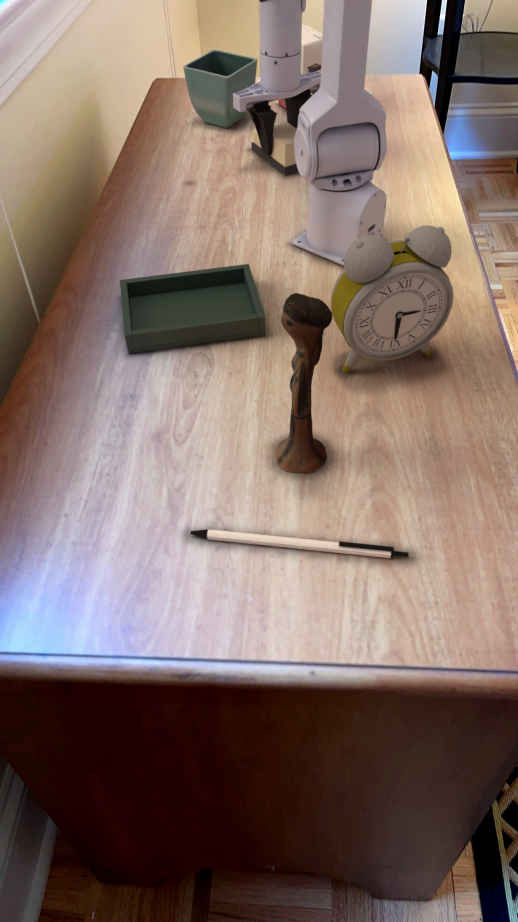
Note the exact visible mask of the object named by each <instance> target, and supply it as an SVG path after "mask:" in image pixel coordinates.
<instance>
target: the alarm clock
mask: <svg viewBox="0 0 518 922" xmlns="http://www.w3.org/2000/svg"><path fill="white" fill-rule="evenodd" d="M383 238H384V237H383ZM383 238H381V237H378V236H374V235H367V236H363V237H360V238H358V239H357V240H355V241H354V242H353V243H352V244H351V245H350V246H349V248H348V250H347V252H346V254H345V257H344V266H343V270H342V271H341V272H340V274H339V275H338V277H337V278H336V280H335V282H334V285H333V288H332V290H331V291H332V292H331V295H330V296H331V297H330V310H331V312H332V319H333V321H334V322H335V324H336V326H337V328H338V330H339V331H340V333H341V335H342V336H343V338H344V340H345V342H346V343H347V345H348V347H349V348H350V349H349V352H348V354H347V357H346V359H345V361H344V363H343V366H342V371H343V372H344V373H349V372H350V371H351V370H352V368H353V367H354V366H355V365H357V363H358V362H359V361H360V360H361V359H362V358H364V359H367V360H371V361H376V362H377V361H381V362H385V361H392V360H397V359H398V360H399V359H400V358H404V357H407V356H409V355H411V354H413V353H415V352H417V351H418V350H419V351H420V352H421V353H422V354H423V355H424V356H426V357H428V356H430V355H431V354H432V353H431V348H430V346H429V343H430V342H431V341H432V340H433V339H434V338H435V337H436V336H437V335H438V334H439V332H440V331H441V330H442V328H443V327H444V326H445V325H446V322H447V321H448V319H449V316H450V314H451V311H452V307H453V303H454V289H453V285H452V282H451V279H450V278H449V275H448V274H447V273H446V272H445V271H444V268H447V266H448V264H449V262H450V261H451V259H452V253H453V249H452V243H451V239H450V238H449V236H448V234H447V233H446V231H445V228H444V227H443V226H438V227H437V226H435V225H430V224H429V225H426V224H425V225H422V226H417V227H415V228H414V229H412V230H410V231H408V232H407V234H406V235H405V237H404V240H402V239H398V240H388V241H387V240H386V239H385V238H384V239H383Z"/></svg>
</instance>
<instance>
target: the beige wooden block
mask: <svg viewBox="0 0 518 922" xmlns="http://www.w3.org/2000/svg"><path fill="white" fill-rule="evenodd" d="M296 131H297V128H295V127H294V126H292V125H291V124H289V123H288V122H287V121H283V122H279V123H274V129H273V150H272V155H267V154H265V153H264V152H263V151H262V150H261V145H260V141H259V137H258V134H257V131H256V128H253V129H252V142H251V144H250V146H251V147H250V148H251V151H252V152H254V153H255V154H256V155H257V156H258V157H260V158H261V159H262V160H263V161H265V162H266V163H267V164H269V165H270V166H272V167H273V168H274V169H275V170H277V171H278V172H279V173H280V174H282V175H283V176H284V177H286V176H289V175H292V174H295V173H299V171H298V168H297V165H296V160H295V152H294V139H295V134H296Z"/></svg>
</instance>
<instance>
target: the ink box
mask: <svg viewBox="0 0 518 922" xmlns="http://www.w3.org/2000/svg"><path fill="white" fill-rule="evenodd" d="M322 38H323V32H321V31H319V30H318V29H315V28H313V27H311V25H308V24H306V23H302V39H301V74H304V73H312V72H317V71H320V72H321V61H322ZM317 91H318V89H316V90H313V91H311V95H312V96H313V95H314V94H315V93H316V92H317ZM277 102H278V105H279V106H281V107H282V108H283V109H285V110H286V104H285V98H284V99H279V100H277Z"/></svg>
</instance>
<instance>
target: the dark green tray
mask: <svg viewBox="0 0 518 922" xmlns="http://www.w3.org/2000/svg"><path fill="white" fill-rule="evenodd" d="M119 288H120V300H121V310H122V311H121V312H122V321H123V332H124V339H125V343H126V348H127V353H128V354H130V355H131V354H137V353H144V352H152V351H158V350H167V349H173V348H174V349H175V348H180V347H181V348H182V347H188V346H196V345H203V344H209V343H217V342H224V341H233V340H240V339H248V338H255V337H260V336H266V315H265V312H264V309H263V305H262V302H261V298H260V295H259V292H258V289H257V285H256V283H255V279H254V276H253V273H252V269H251V266H250V263H245V264H237V265H227V266H222V267H221V266H220V267H213V268H203V269H197V270H189V271H188V270H187V271H182V272H174V273H173V272H172V273H165V274H164V273H163V274H156V275H149V276H148V275H147V276H142V277H141V276H140V277H132V278H124V279H119Z"/></svg>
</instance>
